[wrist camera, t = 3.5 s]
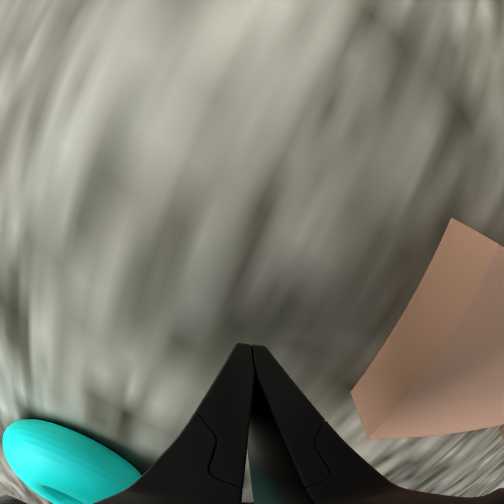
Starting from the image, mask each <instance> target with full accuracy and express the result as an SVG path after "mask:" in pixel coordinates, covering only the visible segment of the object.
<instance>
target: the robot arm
mask: <svg viewBox="0 0 504 504" xmlns="http://www.w3.org/2000/svg"><path fill="white" fill-rule="evenodd" d="M247 449H248V458H249V467H250V475H251V484H252V492H253V500H254V504H504V488H499V489H497V490H495V491H493V492H491V493H490V494H487V495H485V496H481V497H472V498H468V497H455V496H447V495H439V494H432V493H425V492H419V491H414V490H409V489H405V488H402V487H399V486H397V485H395V484H393V483H392V482H390V481H389V480H387V479H386V478H385V477H384V476H382V475H381V474H380V473H379V472H378V471H377V470H375V469H374V468H373V467H372V466H371V465H370V464H369V463H367V462H366V461H365V460H364V459H363V458H362V457H361V456H359V455H358V454H357V453H356V452H355V451H354V450H353V449H352V448H351V447H350V446H349V445H348V444H347V443H346V442H345V441H344V440H343V439H342V438H341V437H340V436H339V435H338V434H337V433H336V432H335V431H334V429H333V428H332V427H331V426H330V425H329V424H328V422H327V421H325V419H324V418H323V417H322V416H321V414H320V413H319V412H318V411H317V410H316V408H315V407H314V406H313V405H312V404H311V402H310V401H309V400H308V399H307V398H306V396H305V395H304V394H303V393H302V391H301V390H300V389H299V388H298V387H297V385H296V384H295V383H294V382H293V380H292V379H291V378H290V377H289V376H288V374H287V373H286V372H285V371H284V369H283V368H282V367H281V366H280V364H279V363H278V362H277V361H276V359H275V358H274V357H273V356H272V354H271V353H270V352H269V350H268V349H267V348H266V347H265V346H260V345H252V346H250V345H249V344H242V343H237V344H236V346H235V347H234V349H233V351H232V352H231V354H230V356H229V357H228V359H227V361H226V362H225V364H224V366H223V367H222V369H221V370H220V372H219V374H218V375H217V377H216V379H215V380H214V382H213V384H212V385H211V387H210V388H209V390H208V392H207V393H206V395H205V397H204V398H203V400H202V401H201V403H200V405H199V406H198V408H197V409H196V411H195V413H194V414H193V416H192V417H191V419H190V420H189V422H188V423H187V425H186V426H185V428H184V429H183V430H182V432H181V433H180V435H179V436H178V437H177V438H176V439H175V441H174V442H173V443H172V444H171V445H170V447H169V448H168V449H167V450H166V451H165V452H164V453H163V454H162V455H161V456H160V457H159V458H158V459H157V461H156V462H155V463H154V464H153V465H152V466H151V467H150V468H149V469H148V470H147V471H146V472H145V473H144V474H143V475H142V476H141V477H140V478H139V479H138V480H137V481H136V482H134V483H133V484H132V485H131V486H129V487H128V488H126V489H125V490H123V491H121V492H119V493H117V494H114V495H112V496H110V497H107V498H105V499H103V500H100V501H98V502H95V503H93V504H241V502H242V489H243V482H244V473H245V464H246V454H247ZM0 504H27V503H25V502H23V501H21V500H19V499H16V498H14V497H11V496H8V495H4V496H1V497H0Z"/></svg>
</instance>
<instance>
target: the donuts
mask: <svg viewBox="0 0 504 504" xmlns="http://www.w3.org/2000/svg"><path fill="white" fill-rule="evenodd" d="M3 450H4V454H5V456H6V459H7V461H8V463H9V465H10V466H11V468H12V469H13V471H14V472H15V473H16V475H17V476H18V477H19V478H20V479H21V480H22V481H23V482H24V483H25V484H26V485H27V486H28V487H30V488H31V489H32V490H33V491H35V492H36V493H37V494H39V495H40V496H42V497H44V498H45V499H47V500H48V501H50V502H52V503H54V504H93V503H95V502H98V501H100V500H103V499H105V498H107V497H110V496H112V495H114V494H117V493H119V492H121V491H123V490H125V489H126V488H128V487H129V486H131V485H132V484H133V483H134V482H136V481H137V480H138V479H139V478H140V477H141V476H142V475H141V474H140V473H139V472H138V470H137V469H136V468H135V467H133V466H132V465H131V464H130V463H129V462H128V461H126V460H125V459H123V458H122V457H121V456H119V455H118V454H116V453H115V452H113V451H112V450H110V449H108V448H107V447H105V446H103V445H102V444H100V443H97V442H96V441H94V440H92V439H90V438H88V437H86V436H84V435H82V434H80V433H77V432H75V431H73V430H70V429H68V428H65V427H63V426H60V425H57V424H54V423H51V422H46V421H42V420H37V419H22V420H18V421H16V422H13V423H12V424H11V425H9V426H8V427H7V429H6V431H5V432H4V436H3Z"/></svg>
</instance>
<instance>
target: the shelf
mask: <svg viewBox="0 0 504 504" xmlns="http://www.w3.org/2000/svg"><path fill="white" fill-rule="evenodd" d="M499 432H500V434H501V435H502V437H503V439H504V425H503V426H502V428H501V429H500V430H499Z"/></svg>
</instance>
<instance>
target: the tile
mask: <svg viewBox="0 0 504 504" xmlns="http://www.w3.org/2000/svg"><path fill="white" fill-rule="evenodd" d="M350 393H351V396H352V398H353V401H354V404H355V406H356V409H357V412H358V415H359V417H360V420H361V423H362V425H363V428H364V431H365V434H366V437H367V439H393V438H411V437H424V436H434V435H443V434H451V433H459V432H465V431H472V430H477V429H483V428H488V427H493V426H498V425H503V424H504V247H503V246H501V245H500V244H498V243H496V242H495V241H493V240H491V239H489V238H488V237H486V236H484V235H483V234H481V233H479V232H477V231H475V230H474V229H472V228H470V227H468V226H466V225H465V224H463V223H461V222H459V221H457V220H455V219H453V218H451V219H450V222H449V224H448V226H447V228H446V231H445V233H444V235H443V237H442V239H441V242H440V244H439V246H438V248H437V250H436V252H435V254H434V256H433V258H432V260H431V262H430V264H429V266H428V268H427V270H426V272H425V274H424V276H423V278H422V280H421V282H420V284H419V286H418V287H417V289H416V291H415V293H414V295H413V296H412V298H411V300H410V302H409V304H408V305H407V307H406V309H405V310H404V312H403V314H402V316H401V317H400V319H399V321H398V322H397V324H396V326H395V327H394V329H393V330H392V332H391V334H390V335H389V337H388V338H387V340H386V342H385V343H384V345H383V346H382V348H381V349H380V351H379V352H378V354H377V355H376V357H375V358H374V360H373V361H372V363H371V364H370V366H369V367H368V368H367V370H366V371H365V373H364V374H363V376H362V377H361V378H360V380H359V381H358V382H357V384H356V385H355V387H354V388H353V389H352V391H351V392H350Z"/></svg>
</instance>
